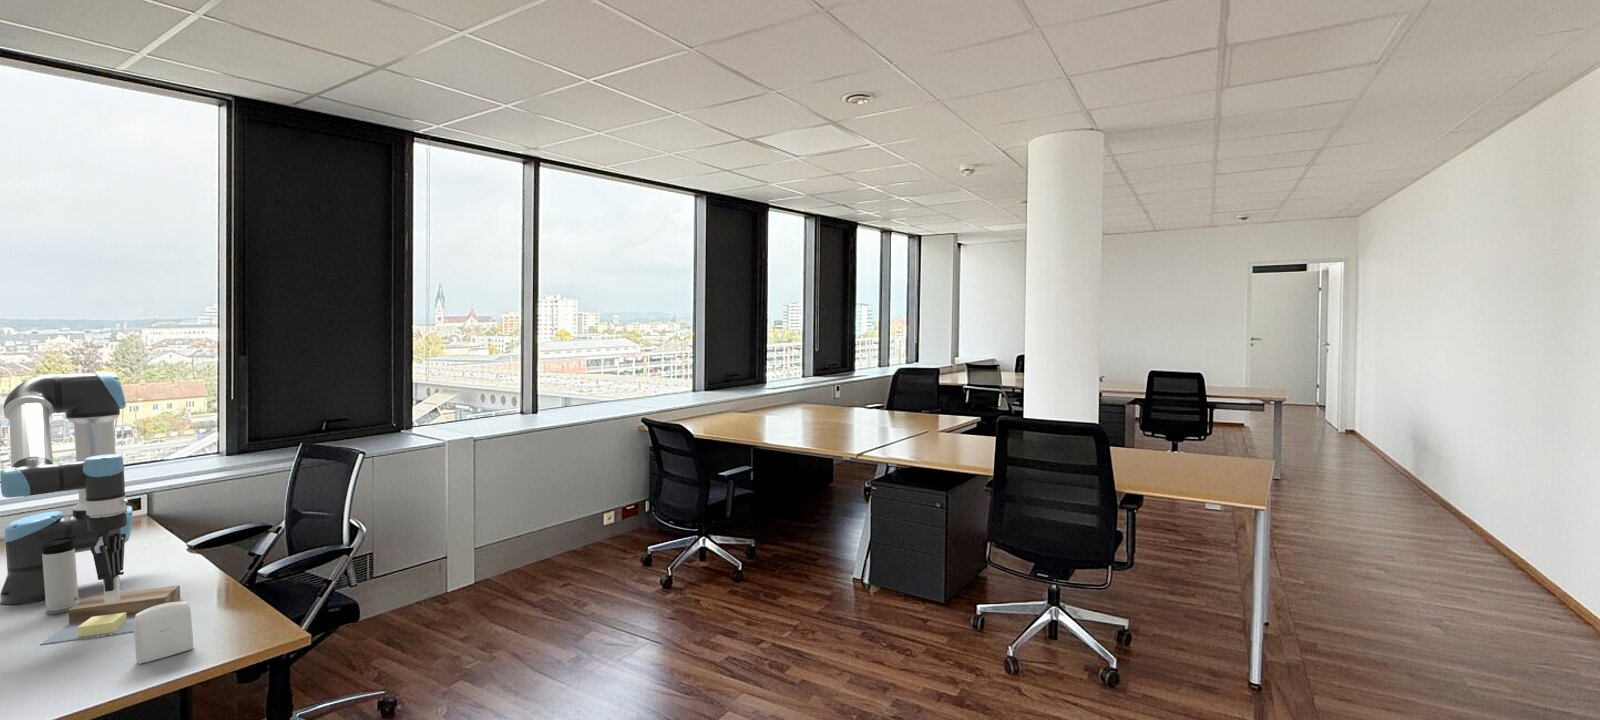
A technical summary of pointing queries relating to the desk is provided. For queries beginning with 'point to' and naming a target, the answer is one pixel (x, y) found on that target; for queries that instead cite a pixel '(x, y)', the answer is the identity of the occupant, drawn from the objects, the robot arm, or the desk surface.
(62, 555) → the travel mug
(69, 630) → the rubber mat
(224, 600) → the desk surface
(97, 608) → the brown wooden block
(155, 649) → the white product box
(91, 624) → the note pad
